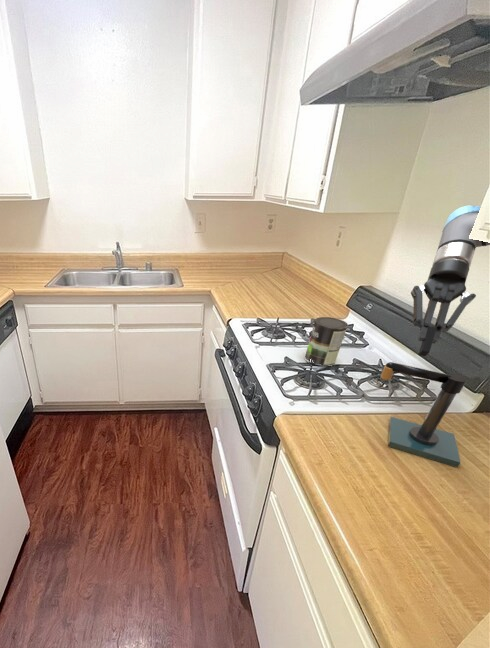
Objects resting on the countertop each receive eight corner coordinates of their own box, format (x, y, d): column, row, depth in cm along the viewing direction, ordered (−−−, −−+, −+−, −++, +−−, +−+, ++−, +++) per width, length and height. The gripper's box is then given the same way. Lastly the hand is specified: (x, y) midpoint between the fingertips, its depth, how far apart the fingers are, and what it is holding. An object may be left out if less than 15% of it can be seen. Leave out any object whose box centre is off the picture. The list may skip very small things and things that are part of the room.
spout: (457, 391, 78) (466, 375, 75) (459, 398, 75) (468, 382, 73) (380, 373, 84) (386, 358, 82) (380, 379, 81) (386, 364, 79)
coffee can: (306, 365, 118) (318, 326, 110) (302, 353, 126) (312, 315, 119) (338, 368, 117) (352, 329, 109) (331, 355, 125) (343, 318, 117)
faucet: (451, 438, 87) (483, 387, 78) (457, 467, 78) (494, 413, 70) (388, 420, 92) (412, 371, 84) (387, 446, 83) (414, 393, 75)
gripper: (475, 280, 86) (449, 366, 83) (414, 272, 91) (388, 353, 88) (491, 261, 79) (463, 354, 76) (424, 254, 85) (397, 340, 82)
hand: (423, 353), depth 82 cm, fingers closed
